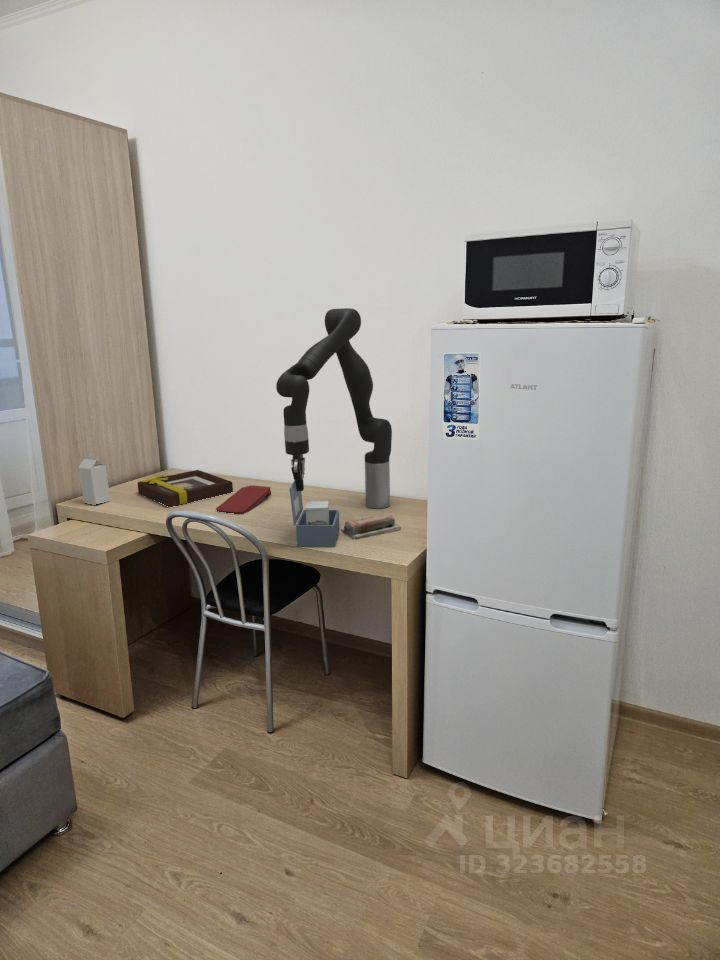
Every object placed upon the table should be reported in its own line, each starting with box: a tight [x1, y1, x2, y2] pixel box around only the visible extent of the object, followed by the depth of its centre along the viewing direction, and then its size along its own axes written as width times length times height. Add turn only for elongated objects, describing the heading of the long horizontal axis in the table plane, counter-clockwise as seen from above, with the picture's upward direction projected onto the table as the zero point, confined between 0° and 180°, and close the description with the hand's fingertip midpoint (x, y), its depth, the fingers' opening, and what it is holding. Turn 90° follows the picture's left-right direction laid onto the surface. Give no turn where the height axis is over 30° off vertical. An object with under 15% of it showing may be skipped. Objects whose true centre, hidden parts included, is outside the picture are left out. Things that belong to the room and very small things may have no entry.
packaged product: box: [340, 514, 402, 540], centre depth 214 cm, size 18×5×10 cm
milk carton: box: [78, 455, 111, 506], centre depth 251 cm, size 7×7×19 cm
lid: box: [289, 479, 304, 527], centre depth 206 cm, size 16×12×1 cm
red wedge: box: [215, 485, 272, 515], centre depth 248 cm, size 12×5×25 cm
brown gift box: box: [137, 469, 234, 508], centre depth 263 cm, size 28×7×30 cm
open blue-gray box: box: [295, 509, 341, 548], centre depth 209 cm, size 16×12×7 cm
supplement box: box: [305, 500, 330, 525], centre depth 205 cm, size 7×7×13 cm
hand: (300, 490), depth 207 cm, fingers closed
